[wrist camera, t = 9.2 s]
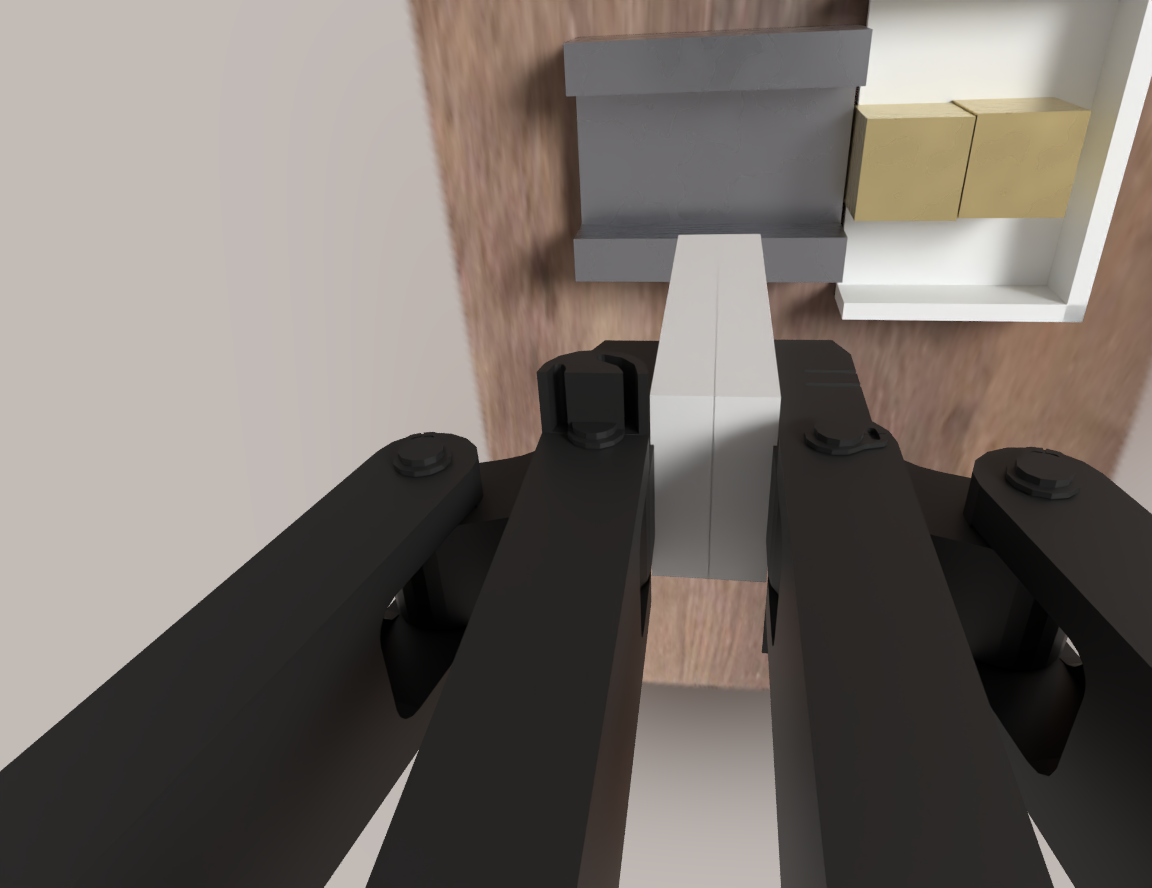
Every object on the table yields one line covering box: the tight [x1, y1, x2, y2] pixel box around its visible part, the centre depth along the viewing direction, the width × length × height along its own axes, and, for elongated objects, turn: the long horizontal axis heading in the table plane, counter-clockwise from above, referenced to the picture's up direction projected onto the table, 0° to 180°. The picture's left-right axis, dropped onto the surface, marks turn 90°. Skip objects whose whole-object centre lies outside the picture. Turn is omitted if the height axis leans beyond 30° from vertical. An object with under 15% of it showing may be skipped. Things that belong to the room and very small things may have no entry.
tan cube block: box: [843, 103, 976, 221], centre depth 34 cm, size 4×4×4 cm
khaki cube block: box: [952, 97, 1091, 218], centre depth 33 cm, size 4×4×4 cm
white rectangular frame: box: [835, 0, 1152, 322], centre depth 34 cm, size 14×10×3 cm
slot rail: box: [563, 24, 873, 283], centre depth 36 cm, size 10×12×4 cm
